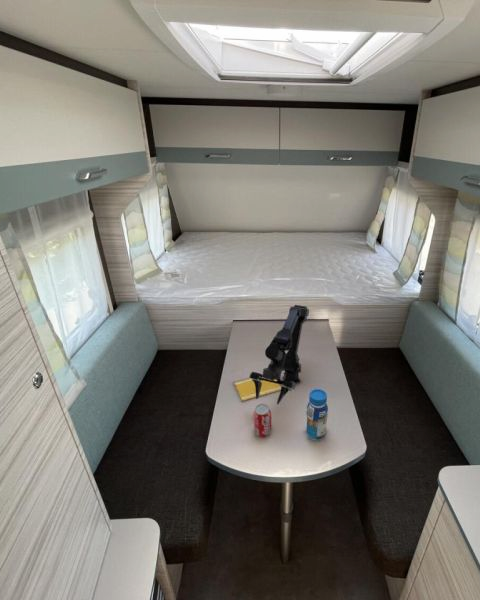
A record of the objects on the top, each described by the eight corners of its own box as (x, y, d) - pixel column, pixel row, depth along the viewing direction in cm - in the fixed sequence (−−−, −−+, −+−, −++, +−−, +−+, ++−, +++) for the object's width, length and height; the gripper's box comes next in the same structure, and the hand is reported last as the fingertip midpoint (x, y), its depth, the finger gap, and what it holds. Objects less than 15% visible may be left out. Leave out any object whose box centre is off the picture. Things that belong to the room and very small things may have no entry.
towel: (271, 373, 168) (271, 372, 168) (282, 389, 157) (282, 388, 156) (234, 383, 161) (234, 382, 161) (242, 401, 149) (242, 400, 149)
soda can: (274, 427, 135) (273, 405, 130) (267, 440, 129) (267, 417, 124) (258, 423, 137) (257, 401, 132) (251, 435, 131) (250, 413, 126)
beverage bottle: (305, 424, 136) (306, 386, 128) (325, 425, 136) (328, 387, 128) (305, 441, 129) (307, 401, 120) (327, 441, 128) (330, 402, 120)
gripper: (250, 355, 133) (239, 393, 128) (293, 364, 127) (283, 405, 122) (259, 361, 143) (248, 397, 138) (299, 370, 137) (290, 407, 132)
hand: (267, 401), depth 132 cm, fingers open, 9 cm apart
